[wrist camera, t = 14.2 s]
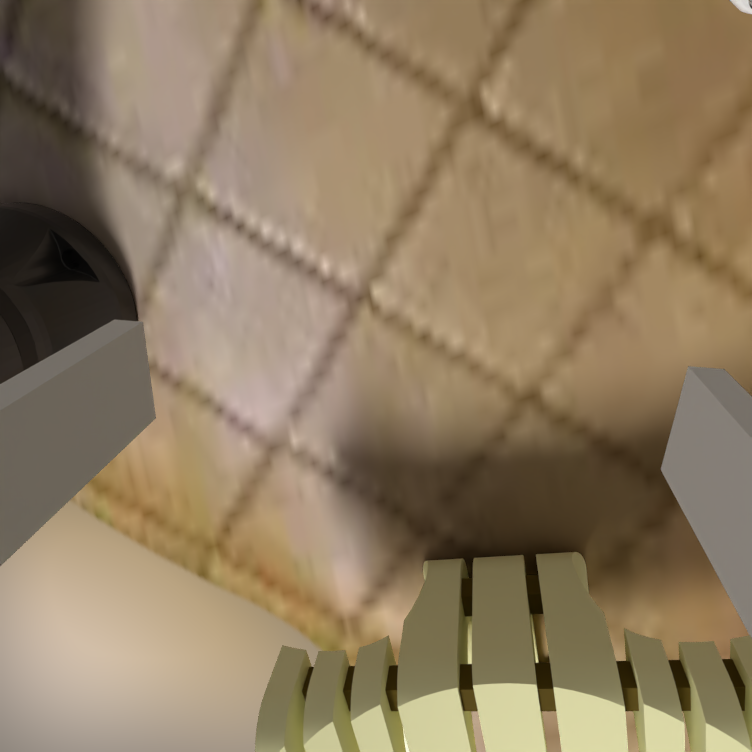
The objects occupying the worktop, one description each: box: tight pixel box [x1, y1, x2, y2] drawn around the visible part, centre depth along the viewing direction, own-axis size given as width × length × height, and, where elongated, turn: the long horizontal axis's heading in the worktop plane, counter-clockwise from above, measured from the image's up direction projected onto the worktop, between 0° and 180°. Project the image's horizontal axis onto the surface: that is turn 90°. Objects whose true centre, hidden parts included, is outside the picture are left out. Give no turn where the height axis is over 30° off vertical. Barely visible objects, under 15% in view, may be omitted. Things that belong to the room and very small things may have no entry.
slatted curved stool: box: [255, 552, 752, 752], centre depth 42 cm, size 30×16×18 cm, turn 102°
